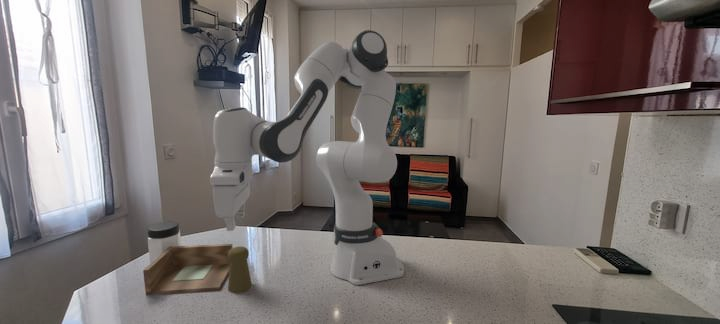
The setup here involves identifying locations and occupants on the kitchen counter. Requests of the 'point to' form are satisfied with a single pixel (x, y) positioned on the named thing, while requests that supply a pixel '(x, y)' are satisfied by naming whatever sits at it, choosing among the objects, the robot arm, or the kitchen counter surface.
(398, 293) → the kitchen counter surface
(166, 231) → the jar
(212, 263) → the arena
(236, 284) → the olive pepper mill
